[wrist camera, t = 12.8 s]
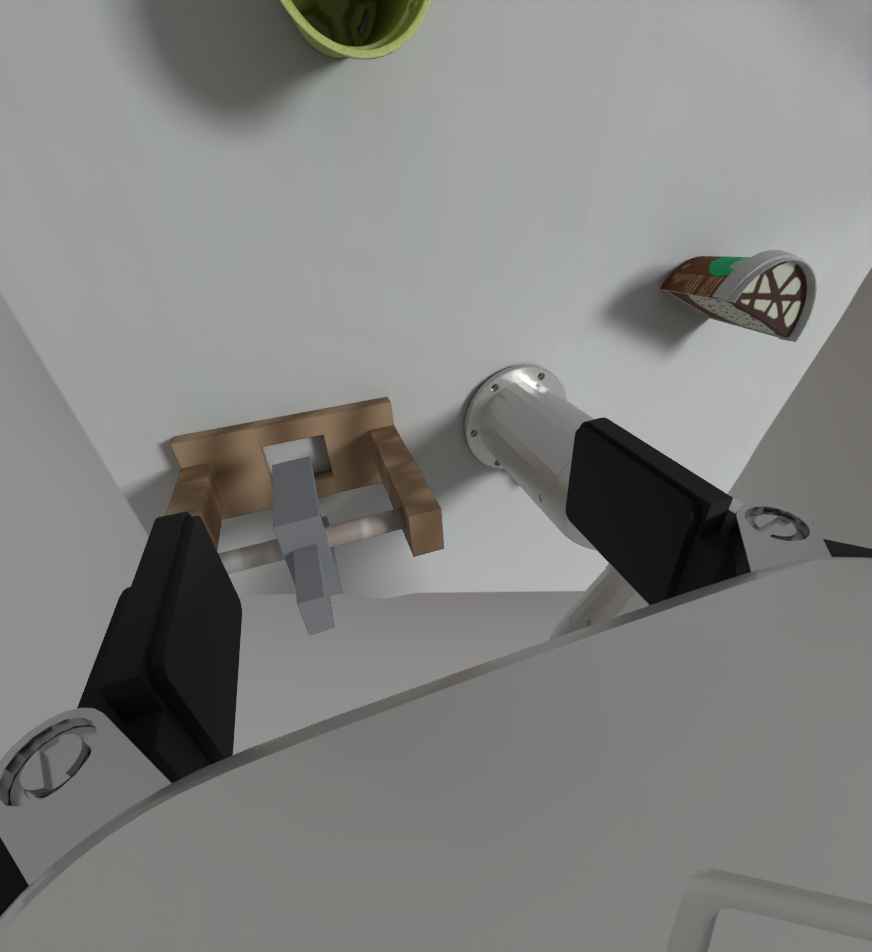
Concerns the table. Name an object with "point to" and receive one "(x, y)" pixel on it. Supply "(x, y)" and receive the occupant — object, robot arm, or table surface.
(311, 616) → the stepped gray bar
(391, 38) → the plant pot
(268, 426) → the rack
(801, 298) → the food container
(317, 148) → the table surface
